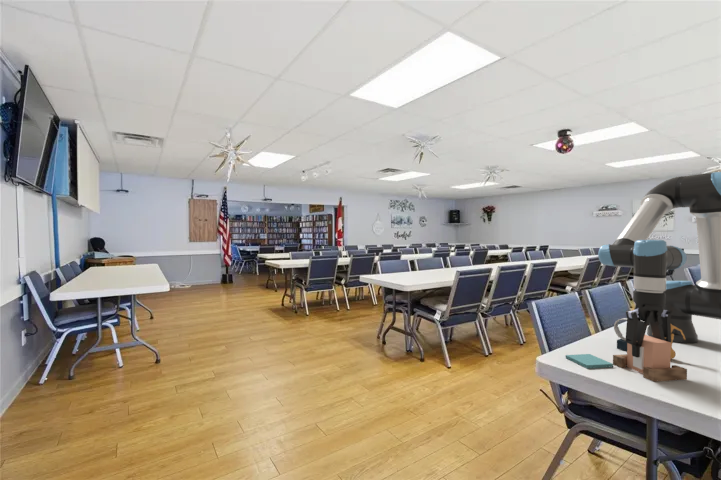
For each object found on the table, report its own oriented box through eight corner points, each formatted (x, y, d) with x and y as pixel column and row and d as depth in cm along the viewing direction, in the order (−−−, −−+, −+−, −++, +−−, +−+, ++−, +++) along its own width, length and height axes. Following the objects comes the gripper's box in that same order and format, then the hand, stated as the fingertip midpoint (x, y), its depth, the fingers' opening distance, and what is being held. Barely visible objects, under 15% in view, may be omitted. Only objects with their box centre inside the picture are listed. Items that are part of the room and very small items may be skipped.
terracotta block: (643, 366, 107) (644, 334, 107) (670, 376, 99) (670, 342, 99) (626, 367, 106) (627, 335, 106) (652, 377, 98) (652, 343, 98)
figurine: (650, 356, 115) (650, 321, 115) (653, 352, 119) (653, 318, 119) (683, 363, 109) (684, 326, 109) (685, 359, 113) (686, 323, 113)
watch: (637, 353, 118) (638, 322, 118) (611, 347, 125) (611, 317, 125) (644, 350, 121) (644, 320, 121) (617, 344, 128) (618, 315, 128)
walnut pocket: (642, 362, 110) (642, 353, 110) (686, 379, 97) (687, 369, 97) (612, 364, 108) (613, 354, 108) (653, 381, 95) (653, 371, 95)
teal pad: (589, 356, 115) (589, 353, 115) (612, 367, 106) (612, 363, 106) (565, 358, 113) (565, 355, 113) (587, 368, 104) (587, 365, 104)
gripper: (663, 288, 107) (662, 360, 107) (610, 289, 104) (609, 363, 105) (689, 292, 100) (688, 370, 100) (633, 293, 97) (632, 373, 97)
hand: (647, 366), depth 102 cm, fingers closed on terracotta block, 6 cm apart
